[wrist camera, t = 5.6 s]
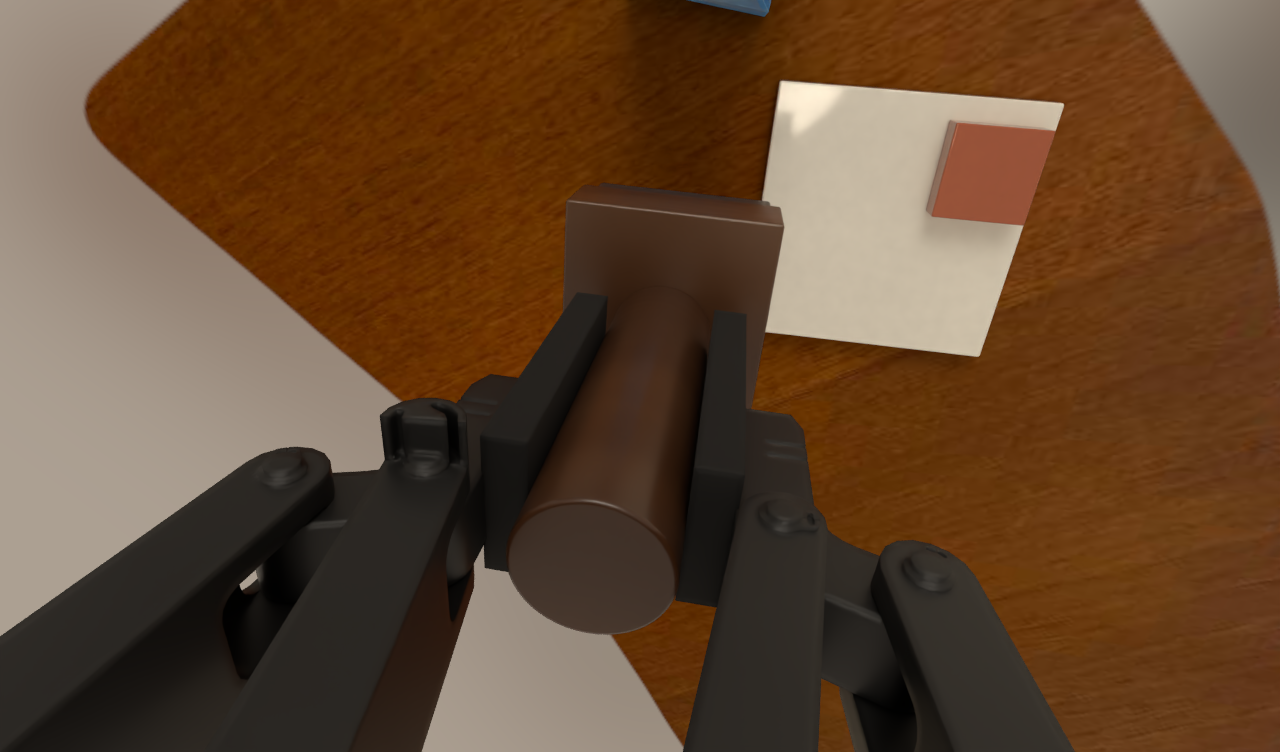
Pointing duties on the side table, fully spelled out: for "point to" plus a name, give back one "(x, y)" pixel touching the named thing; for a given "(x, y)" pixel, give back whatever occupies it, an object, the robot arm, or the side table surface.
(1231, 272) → the side table surface
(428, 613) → the robot arm
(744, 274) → the stamp
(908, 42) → the side table surface
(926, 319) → the tile
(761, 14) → the perfume bottle
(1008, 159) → the reddish-brown flat block
